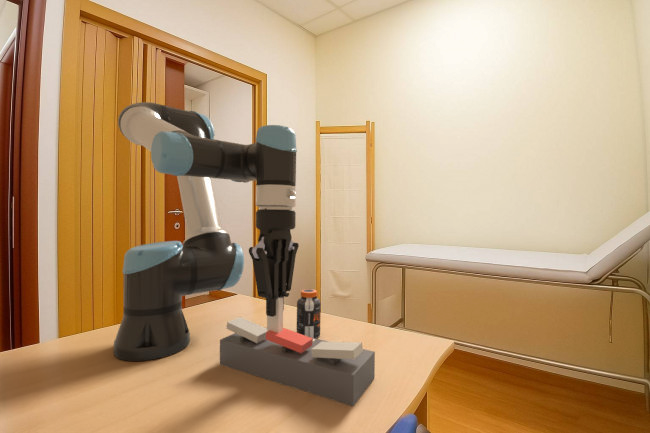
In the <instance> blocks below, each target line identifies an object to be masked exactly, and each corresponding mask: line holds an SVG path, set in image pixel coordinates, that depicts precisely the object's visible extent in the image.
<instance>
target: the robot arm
mask: <svg viewBox="0 0 650 433" xmlns="http://www.w3.org/2000/svg"><path fill="white" fill-rule="evenodd" d="M117 125H118V129H119V130H120V132H121V134H122V136H124V138H125V139H126V140H127V141H129V142H131V143H133V144H135V145H137V146H142V147H144V148H145V149H146V150H148V151H149V152H150V156H151V157H150V158H151V160H150V161H151V162H152V166H153V168H154V169H155V171H156V172H157V173H160V174H166V175H172V176H175V177H176V178H177V183H178V188H179V193H180V194H179V195H180V199H181V205H182V210H183V216H184V222H185V226H186V232H187V237H186V238H185V240H183V242H181V241H180V240H168V241H167V240H166V241H157V242H150V243H146V244H144V243H143V244H140V245H137V246H134V247H131V248H130V249H128V250H127V251H125V254H124V258H123V266H122V271H121V272H122V274H123V282H122V283H123V285H122V286H123V291H122V292H123V296H122V298H123V305H122V306H123V311H122V312H123V313H122V314H123V316H122V319H121V322H120V325H119V328H118V330H117V333H116V336H115V339H114V342H113V356H114V357H115V358H117V359H119V360H122V361H129V362H140V361H141V362H142V361H151V360H157V359H161V358H164V357H165V358H166V357H169V356H171V355H173V354H177V353H179V352H180V351H182V350H184V349H185V348H187V346H189V344H190V342H191V341H190V339H191V336H190V335H191V334H190V329H189V326H188V323H187V320H186V318H185V315H184V311H183V307H182V306H183V305H182V302H183V300H182V299H183V296H184V297H185V296H189V295H190V296H191V295H195V294H201V293H208V292H214V291H222V290H225V289H229V288H233V287H234V286H236V285H237V284H238V283H239V282H240V279H241V278H242V275H243V272H244V266H245V256H244V255H245V254H244V251H243V248H242V247H241V246H240V244H239V243H236V242H232V241H231V236H230V233H229V232H227V231H225V230H224V229H222V224H221V219H220V213H219V209H218V205H217V200H216V196H215V195H216V194H215V191H214V188H213V187H214V186H213V182H212V179H218V180H231V181H232V182H235V183H246V184H247V183H249V182H254V181H255V183H256V185H255V206H256V207H258V209H257V210H256V211H255V228H256V229H257V230H259V235H258V238H257V242H258V243H257V244H255V246H251V247H249V248H248V254H249V255H250V258H251V259H252V265H253V271H254V278H255V283H256V284H255V285H256V291H257V296H258V297H261V298H264V299H265V302H266V303H265V315H266V328H267V331H269V330H271V331H274V332H277V333H280V332H281V331H283V328H284V310H285V304H284V303H285V298H288V297H289V296H290V293H289V292H290V291H291V290H292V285H293V277H294V269H295V263H296V255H297V252H298V249H299V247H300V246H299V243H298V242H294V241H293V240H292V234H291V230H294V229H296V211H295V210H294V209H293V208H295V207H296V194H297V191H296V186H297V184H296V183H297V180H296V179H297V152H298V149H297V138H296V136H297V135H296V132H295V131H294V130H293V129H292V128H290V127H289V126H284V125H280V124H279V125H278V124H268V125H267V124H266V125H262V126H260V127H259V128H258V130H257V131H256V138H255V142H254V143H249V144H242V143H235V142H231V141H226V140H224V141H223V140H218V139H215V128H214V124H213V123H212V121H211V119H210V118H209V117H208V116H207V115H205V114H202V113H200V112H197V111H193V110H186V109H182V108H176V107H172V106H167V105H164V104H159V103H155V102H148V101H143V102H136V103H131V104H129V105H127V106H126V107H124V108H123V109H122V110H121V112H120V113H119V115H118V118H117Z"/></svg>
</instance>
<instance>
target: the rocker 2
mask: <svg viewBox="0 0 650 433" xmlns="http://www.w3.org/2000/svg"><path fill="white" fill-rule="evenodd" d="M363 349H364V348H363V342H362V341H361V342H360V341H359V342H358V341H357V342H355V341H353V342H351V341H329V342H320V343H319V344H318V345H316V346H315V347H313V348H312V349H311V351H312V357H318V358H338V359H355V358H356V357H357V356H358V355H359V354H360V353H361V352H362V351H363Z"/></svg>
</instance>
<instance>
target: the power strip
mask: <svg viewBox="0 0 650 433" xmlns="http://www.w3.org/2000/svg"><path fill="white" fill-rule="evenodd" d="M263 327H264V328H267V326H266V327H265V326H263ZM310 338H311V337H310ZM320 342H330V341H328V340H323V339H319V338H313V342H312V346H311V347H309V348H308V349H307V350H305V351H304V352H302V353H299V352H297V351H294V350H292V349H289V348H287V347H284V346H282V345H279V344H277V343H274V342H271V341H269V340H266V338H265V339H264V340H262V341H260V342H258V343H255V342H253V341H251V340H249V339H247V338H245V337H243V336H241V335H239V334H237V333H234V332H233V333H232V334H229V335H226V336H225V337H223V338H220V339H219V365H220V366H223V367H225V368H226V367H227V368H229V369H232V370H236V371H240V372H241V373H242V372H243V373H245V374H249V375H251V376H255V377H258V378H262V379H265V380H269V381H270V382H274V383H277V384H280V385H284V386H286V387H291V388H292V389H296V390H300V391H303V392H305V393H309V394H312V395H315V396H319V397H322V398H324V399H328V400H330V401H331V400H332V401H334V402H338V403H342V404H344V405H347V406H350V407H354V406H355V405H356V404H357V402H358V401H359V400H360V398H361V397H362V396H363V394H364V393H365V392H366V390H367V389H368V388H369V386H370V385H371V384H372V382H373V381H374V380H375V365H376V364H375V362H376V360H375V358H376V356H375V355H376V351H373V350H370V349H369V350H368V349H365V348H363V351H362V352H361V353H360V354H359V355H358V356H357V357H356V358H355V359H338V358H318V357H312V351H311V349H312V348H313V347H315V346H316V345H318V344H319V343H320Z"/></svg>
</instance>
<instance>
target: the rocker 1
mask: <svg viewBox="0 0 650 433" xmlns="http://www.w3.org/2000/svg"><path fill="white" fill-rule="evenodd" d="M264 327H265V326H262V325H261V324H257V323H255V322H253V321H250V320H249V319H246V318H244V317H242V316H240V317H237V318H234V319H231V320H229V321H227V324H226V330H228V331H231V332H233V334H234V333H237V334H239V335H241V336H243V337H245V338H247V339H249V340H251V341H253V342H255V343H258V342H260V341H262V340H264V339H265V338H266V332H267V327H266V328H264Z"/></svg>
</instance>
